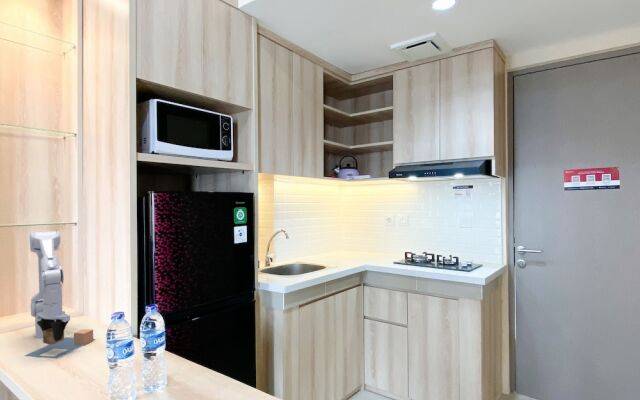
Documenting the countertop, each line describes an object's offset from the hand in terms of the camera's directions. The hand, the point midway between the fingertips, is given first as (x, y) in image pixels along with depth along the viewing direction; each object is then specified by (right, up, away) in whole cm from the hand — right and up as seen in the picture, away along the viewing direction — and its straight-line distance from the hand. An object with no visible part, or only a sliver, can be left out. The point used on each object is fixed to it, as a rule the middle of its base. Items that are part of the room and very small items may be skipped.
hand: (53, 339), depth 137 cm
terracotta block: (+5, -5, +9) cm, 12 cm away
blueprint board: (-1, -6, +5) cm, 8 cm away
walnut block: (0, -1, 0) cm, 1 cm away
